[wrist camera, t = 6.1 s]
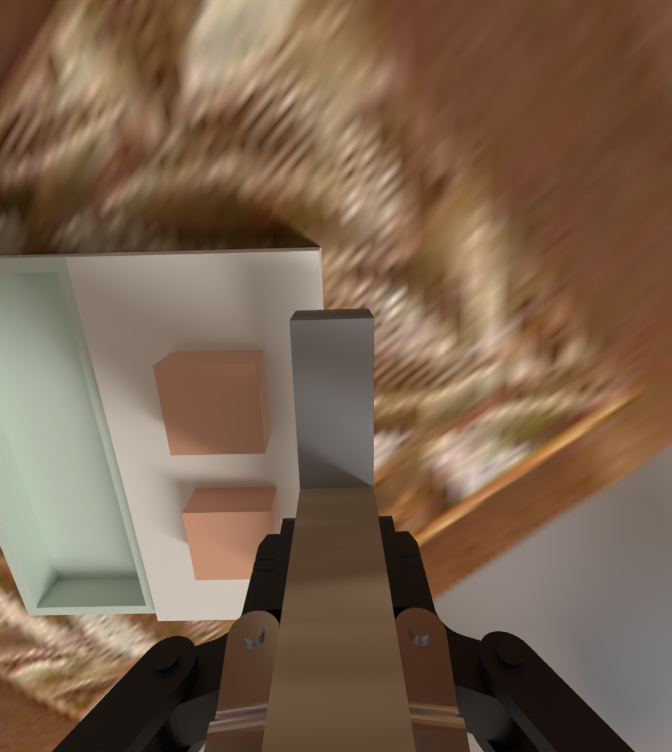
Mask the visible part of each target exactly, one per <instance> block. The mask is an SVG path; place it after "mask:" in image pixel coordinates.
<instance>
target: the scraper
mask: <svg viewBox="0 0 672 752" xmlns="http://www.w3.org/2000/svg"><path fill="white" fill-rule="evenodd" d="M289 323H290V339H291V355H292V371H293V387H294V403H295V419H296V435H297V451H298V467H299V483H300V491H299V498H298V505H297V512H296V518H295V525H294V532H293V539H292V546H291V552H290V559H289V566H288V573H287V580H286V586H285V593H284V600H283V607H282V614H281V621H280V627H279V634H278V641H277V648H276V655H275V661H274V668H273V675H272V682H271V689H270V695H269V702H268V709H267V716H266V723H265V729H264V736H263V743H262V750H261V752H416V749H415V743H414V736H413V730H412V724H411V718H410V712H409V705H408V699H407V693H406V687H405V680H404V674H403V668H402V662H401V656H400V649H399V643H398V637H397V631H396V624H395V618H394V612H393V606H392V600H391V593H390V587H389V581H388V575H387V568H386V562H385V556H384V550H383V544H382V537H381V531H380V525H379V519H378V512H377V506H376V500H375V494H374V488H373V468H374V317H373V316H372V314H371V312H370V310H369V309H333V310H296V311H295V312H294V314H293V316H292V317H291V319H290V320H289Z"/></svg>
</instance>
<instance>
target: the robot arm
mask: <svg viewBox="0 0 672 752" xmlns="http://www.w3.org/2000/svg"><path fill="white" fill-rule="evenodd" d="M378 519H379V525H380V531H381V537H382V544H383V550H384V556H385V562H386V568H387V575H388V581H389V587H390V593H391V600H392V606H393V612H394V618H395V624H396V631H397V637H398V643H399V649H400V656H401V662H402V668H403V674H404V680H405V687H406V693H407V699H408V705H409V712H410V718H411V724H412V730H413V736H414V743H415V749H416V752H470V750H469V744H468V737H467V732H468V733H471V734H473V736H474V738H475V739H476V741H477V743H478V744H479V745H480V747H481V748H482V750H483V751H484V752H634V751H633V750H632V749H631V748H630V747H629V746H628V745H627V744H626V743H625V742H624V741H623V740H622V739H621V738H620V737H619V736H618V735H617V734H616V733H615V732H614V731H613V730H612V729H611V728H610V727H609V726H608V725H607V724H606V723H605V722H604V721H603V720H602V719H601V718H600V717H599V716H598V715H597V714H596V713H595V712H594V711H593V710H592V709H591V708H590V707H589V706H588V705H587V704H586V703H585V702H584V701H583V700H582V699H581V698H580V697H579V696H578V695H577V694H576V693H575V692H574V691H573V690H572V689H571V688H570V687H569V686H568V685H567V684H566V683H565V682H564V681H563V680H562V679H561V678H560V677H559V676H558V675H557V674H556V673H555V672H554V671H553V670H552V669H551V668H550V667H549V666H548V665H547V664H546V663H545V662H544V661H543V660H542V659H541V658H540V657H539V656H538V655H537V654H536V653H535V652H534V651H533V650H532V649H531V648H530V647H529V646H528V645H527V644H526V643H525V642H524V641H523V640H521V639H520V638H518V637H517V636H515V635H513V634H510V633H507V632H501V631H495V632H491V633H489V634H487V635H485V636H484V637H483V639H482V640H481V641H480V640H476V639H473V638H470V637H466V636H463V635H460V634H458V633H456V632H454V631H452V630H451V629H449V628H448V627H447V626H446V625H445V624H444V623H443V622H442V621H441V620H440V619H439V617H438V616H437V613H436V611H435V608H434V604H433V600H432V597H431V593H430V589H429V585H428V581H427V578H426V574H425V570H424V567H423V562H422V559H421V555H420V551H419V547H418V543H417V542H416V540H415V539H414V538H413V537H412V535H411V534H410V533H409V532H408V531H402V532H395V528H394V523H393V518H392V516H378ZM294 525H295V518H283V520H282V525H281V530H280V534H267V535H266V537H265V538H264V539H263V540H262V542H261V543H260V544H259V546H258V550H257V554H256V558H255V562H254V566H253V572H252V574H251V578H250V582H249V586H248V590H247V594H246V598H245V602H244V606H243V611H242V614H241V617H240V618H238V619H237V620H236V621H235V622H234V624H233V625H232V626H231V628H230V630H229V632H228V633H226V634H225V635H223V636H222V637H220V638H218V639H215V640H213V641H210V642H207V643H204V644H201V645H198V646H194V644H193V642H192V641H191V640H189V639H188V638H186V637H182V636H173V637H169V638H166V639H164V640H162V641H160V642H158V643H157V644H155V645H154V646H153V647H152V648H150V649H149V650H148V651H147V652H146V653H145V655H144V656H143V657H142V658H141V659H140V660H139V661H138V662H137V663H136V664H135V665H134V666H133V667H132V668H131V669H130V670H129V671H128V672H127V673H126V674H125V676H124V677H123V678H122V679H121V680H120V681H119V682H118V683H117V684H116V685H115V686H114V687H113V688H112V689H111V690H110V691H109V692H108V693H107V694H106V695H105V697H104V698H103V699H102V700H101V701H100V702H99V703H98V704H97V705H96V706H95V707H94V708H93V709H92V710H91V711H90V712H89V713H88V714H87V715H86V716H85V718H84V719H83V720H82V721H81V722H80V723H79V724H78V725H77V726H76V727H75V728H74V729H73V730H72V731H71V732H70V733H69V734H68V735H67V736H66V737H65V739H64V740H63V741H62V742H61V743H60V744H59V745H58V746H57V747H56V748H55V749H54V750H53V751H52V752H199V751H200V749H201V748H202V746H203V744H204V743H205V749H204V752H261V750H262V743H263V736H264V729H265V723H266V716H267V709H268V702H269V695H270V689H271V682H272V675H273V668H274V661H275V655H276V648H277V641H278V634H279V627H280V621H281V614H282V607H283V600H284V593H285V586H286V580H287V573H288V566H289V559H290V552H291V546H292V539H293V532H294ZM205 741H206V742H205Z"/></svg>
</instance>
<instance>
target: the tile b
mask: <svg viewBox="0 0 672 752" xmlns="http://www.w3.org/2000/svg"><path fill="white" fill-rule="evenodd" d="M182 515H183V520H184V525H185V530H186V535H187V540H188V545H189V550H190V555H191V560H192V565H193V570H194V575H195V580H239V579H250V578H251V574H252V572H253V566H254V562H255V558H256V554H257V550H258V546H259V544H260V543H261V542H262V540H263V539H264V538H265V537H266V535H267V534H280V530H281V528H280V517H279V507H278V496H277V487H240V488H195V490H194V492H193V494H192V496H191V498H190V499H189V501H188V503H187V505H186V507H185V509H184V511H183V513H182Z"/></svg>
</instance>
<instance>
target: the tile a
mask: <svg viewBox="0 0 672 752" xmlns="http://www.w3.org/2000/svg"><path fill="white" fill-rule="evenodd" d="M153 370H154V375H155V380H156V385H157V390H158V395H159V400H160V405H161V410H162V415H163V420H164V425H165V430H166V435H167V440H168V445H169V450H170V455H217V454H263V453H265V452H266V449H267V446H268V443H269V439H270V436H271V433H272V431H271V421H270V410H269V399H268V388H267V378H266V367H265V356H264V350H245V351H203V352H171V353H169V354H168V355H167V356H165V357H164V358H163V359H161V360H160V361H159V362H157V363H156V364H155V365H154V366H153Z"/></svg>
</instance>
